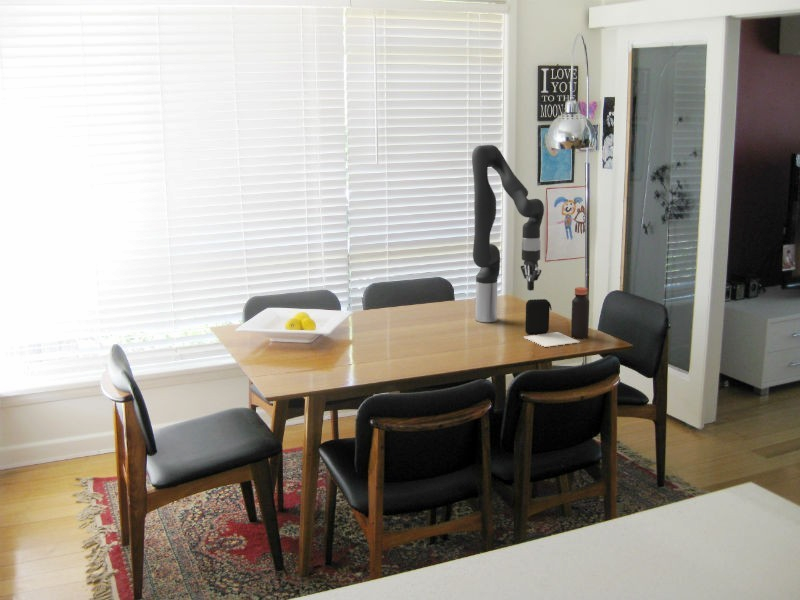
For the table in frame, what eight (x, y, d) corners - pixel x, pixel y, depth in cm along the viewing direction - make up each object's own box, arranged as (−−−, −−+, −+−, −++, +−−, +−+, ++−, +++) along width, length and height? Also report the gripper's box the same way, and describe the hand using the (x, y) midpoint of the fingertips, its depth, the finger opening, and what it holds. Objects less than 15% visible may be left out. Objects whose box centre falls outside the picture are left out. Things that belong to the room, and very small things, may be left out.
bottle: (588, 339, 337) (590, 290, 332) (570, 338, 338) (572, 289, 333) (587, 334, 343) (589, 286, 338) (570, 334, 344) (572, 286, 340)
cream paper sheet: (523, 337, 340) (523, 336, 340) (557, 333, 346) (557, 331, 346) (545, 347, 326) (545, 346, 326) (580, 343, 332) (580, 341, 331)
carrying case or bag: (549, 332, 347) (550, 298, 344) (551, 334, 344) (552, 299, 341) (524, 334, 346) (525, 299, 343) (526, 335, 343) (527, 300, 340)
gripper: (514, 246, 348) (514, 288, 352) (531, 251, 336) (531, 294, 340) (530, 245, 351) (530, 286, 354) (547, 249, 339) (547, 292, 342)
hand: (530, 290), depth 347 cm, fingers closed
